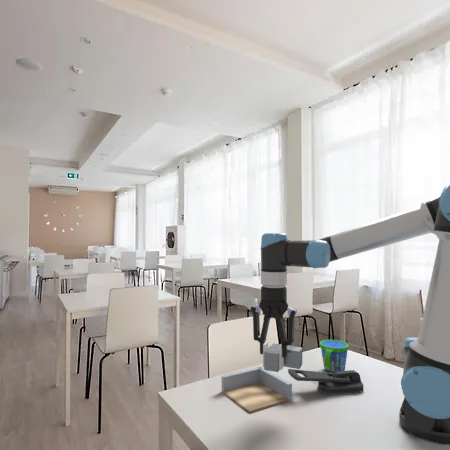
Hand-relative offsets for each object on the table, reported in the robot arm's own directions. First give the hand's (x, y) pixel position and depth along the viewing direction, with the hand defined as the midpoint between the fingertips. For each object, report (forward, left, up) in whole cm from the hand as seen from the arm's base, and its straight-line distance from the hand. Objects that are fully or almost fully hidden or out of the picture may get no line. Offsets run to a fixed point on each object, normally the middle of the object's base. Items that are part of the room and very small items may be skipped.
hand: (273, 366), depth 98 cm
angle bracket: (-1, -3, 0) cm, 3 cm away
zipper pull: (+3, -25, -14) cm, 28 cm away
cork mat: (+11, -1, -13) cm, 17 cm away
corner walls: (+12, -2, -13) cm, 18 cm away
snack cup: (+14, -40, -14) cm, 45 cm away
